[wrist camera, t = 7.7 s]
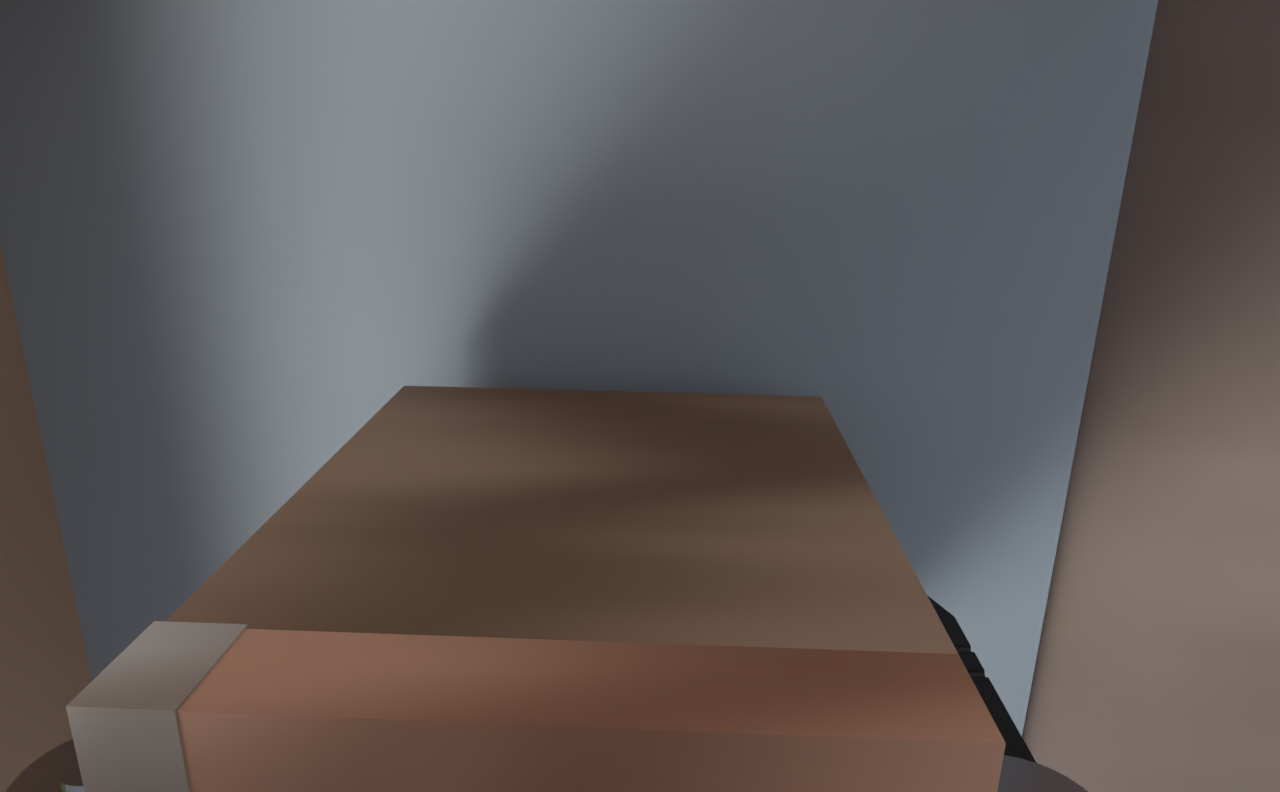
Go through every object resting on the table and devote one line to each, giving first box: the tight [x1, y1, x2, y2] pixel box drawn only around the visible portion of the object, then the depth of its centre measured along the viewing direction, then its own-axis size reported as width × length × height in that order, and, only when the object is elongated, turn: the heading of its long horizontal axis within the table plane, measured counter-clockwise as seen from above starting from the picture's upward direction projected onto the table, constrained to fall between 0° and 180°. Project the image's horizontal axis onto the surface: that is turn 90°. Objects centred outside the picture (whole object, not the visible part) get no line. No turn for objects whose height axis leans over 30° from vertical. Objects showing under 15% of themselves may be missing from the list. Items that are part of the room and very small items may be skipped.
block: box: [66, 386, 1006, 792], centre depth 8 cm, size 5×5×6 cm
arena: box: [0, 0, 1158, 792], centre depth 9 cm, size 16×15×5 cm
